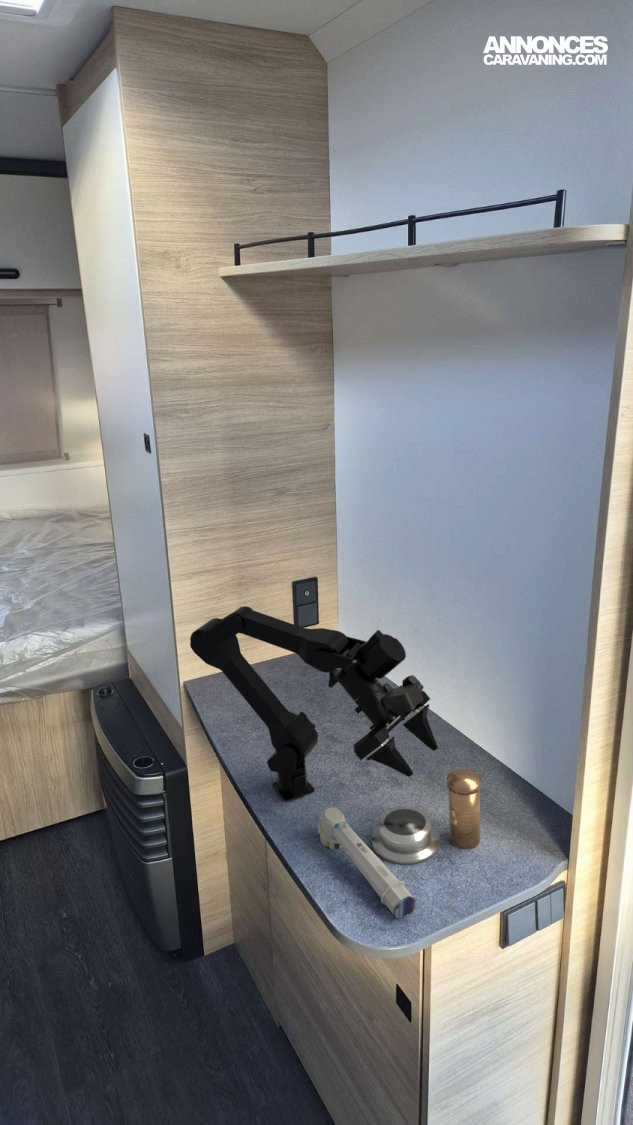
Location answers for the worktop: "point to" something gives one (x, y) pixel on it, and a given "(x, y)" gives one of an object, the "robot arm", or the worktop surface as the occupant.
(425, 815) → the ring
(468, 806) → the copper capped cylinder
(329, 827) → the grey piece
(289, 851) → the worktop surface
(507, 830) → the worktop surface
